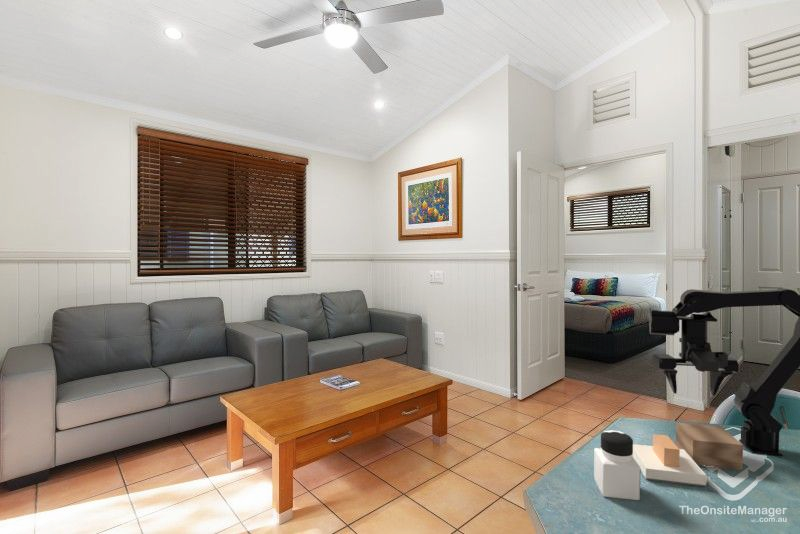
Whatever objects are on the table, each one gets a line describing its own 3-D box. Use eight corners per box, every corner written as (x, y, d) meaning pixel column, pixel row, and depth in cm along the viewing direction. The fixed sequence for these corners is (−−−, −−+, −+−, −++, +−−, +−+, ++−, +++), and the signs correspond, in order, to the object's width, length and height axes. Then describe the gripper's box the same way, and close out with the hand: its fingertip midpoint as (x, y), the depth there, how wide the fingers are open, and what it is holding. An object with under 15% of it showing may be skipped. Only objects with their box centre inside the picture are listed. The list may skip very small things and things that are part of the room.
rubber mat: (682, 460, 98) (682, 458, 98) (703, 486, 88) (703, 484, 87) (632, 455, 101) (632, 453, 101) (646, 479, 90) (646, 477, 90)
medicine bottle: (640, 501, 83) (641, 443, 82) (602, 497, 84) (603, 440, 84) (628, 481, 90) (629, 428, 89) (593, 478, 91) (594, 425, 91)
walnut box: (720, 449, 103) (721, 426, 103) (742, 470, 94) (743, 444, 93) (675, 445, 106) (676, 422, 106) (692, 464, 96) (693, 440, 96)
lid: (683, 458, 98) (684, 433, 98) (706, 485, 87) (707, 457, 87) (630, 452, 101) (630, 428, 101) (645, 478, 90) (646, 450, 90)
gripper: (668, 342, 103) (668, 403, 104) (753, 344, 99) (752, 407, 100) (651, 333, 114) (651, 388, 115) (727, 335, 110) (726, 392, 111)
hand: (693, 394), depth 110 cm, fingers open, 9 cm apart
